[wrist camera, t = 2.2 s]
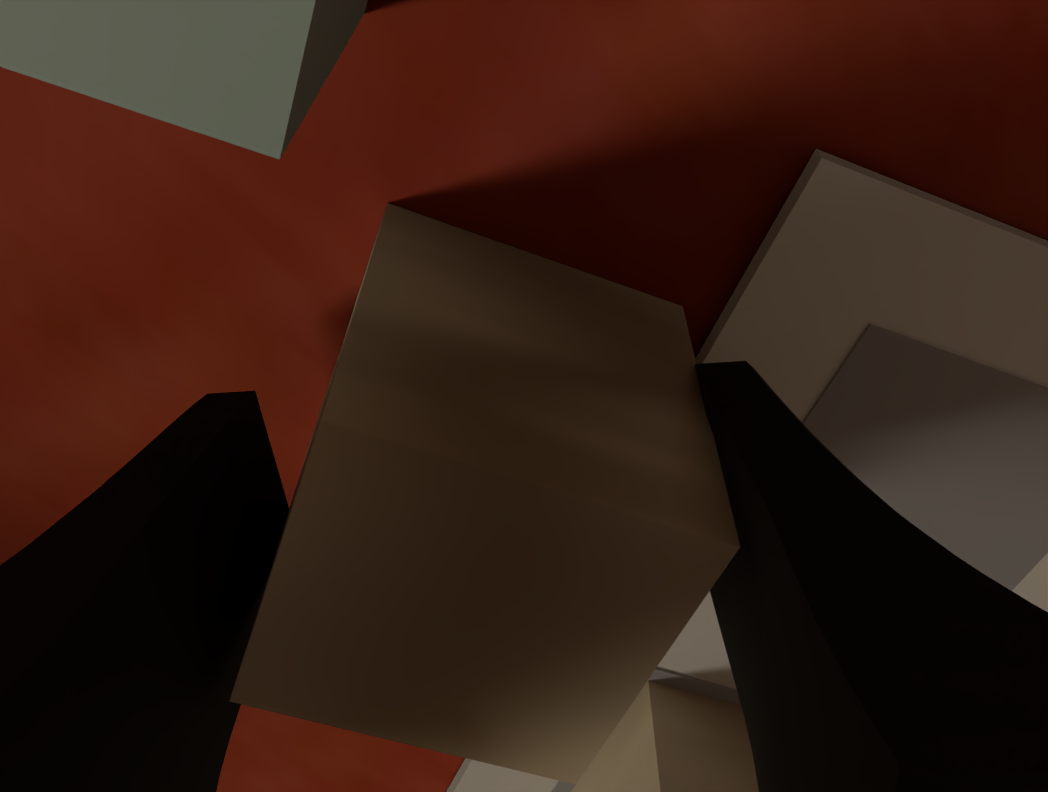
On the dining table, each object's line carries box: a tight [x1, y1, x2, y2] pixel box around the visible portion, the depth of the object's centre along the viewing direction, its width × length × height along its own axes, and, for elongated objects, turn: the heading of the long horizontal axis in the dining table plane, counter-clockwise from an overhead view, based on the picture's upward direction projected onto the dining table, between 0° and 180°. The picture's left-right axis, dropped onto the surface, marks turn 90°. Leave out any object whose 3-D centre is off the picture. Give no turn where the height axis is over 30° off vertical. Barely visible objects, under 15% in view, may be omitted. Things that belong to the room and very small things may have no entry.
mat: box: [447, 149, 1048, 792], centre depth 16 cm, size 8×15×1 cm, turn 159°
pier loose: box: [230, 203, 740, 784], centre depth 12 cm, size 4×4×4 cm
